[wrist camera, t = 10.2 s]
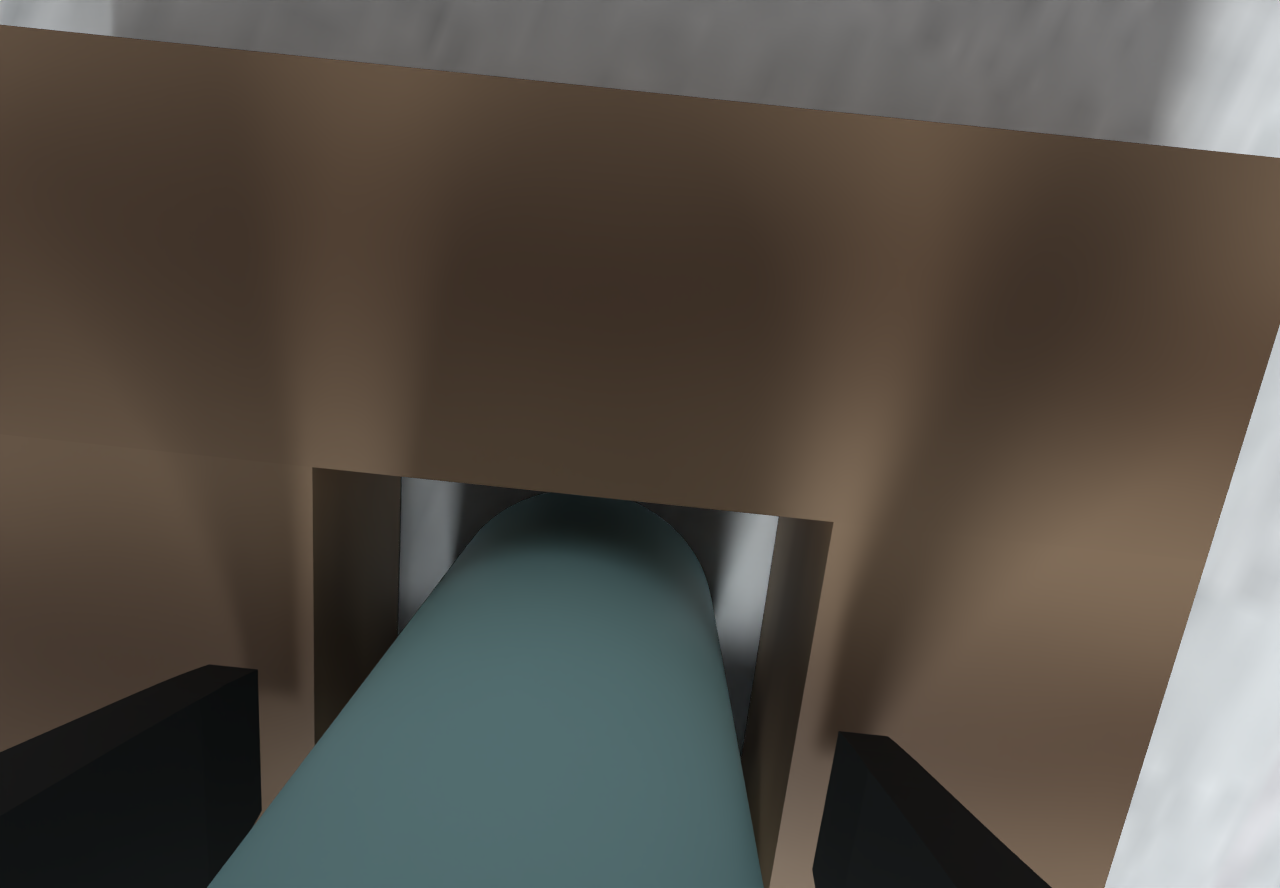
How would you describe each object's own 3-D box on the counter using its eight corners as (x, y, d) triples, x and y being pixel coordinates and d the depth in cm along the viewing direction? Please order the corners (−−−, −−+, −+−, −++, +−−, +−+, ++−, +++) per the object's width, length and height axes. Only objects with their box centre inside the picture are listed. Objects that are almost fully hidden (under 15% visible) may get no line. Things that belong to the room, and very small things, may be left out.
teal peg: (695, 745, 12) (760, 1493, 5) (443, 719, 12) (91, 1420, 5) (728, 505, 11) (885, 953, 4) (454, 475, 11) (18, 861, 4)
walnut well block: (930, 1011, 14) (1004, 1205, 11) (165, 929, 14) (32, 1101, 11) (1135, 201, 10) (1329, 163, 7) (107, 94, 10) (-114, 13, 7)
